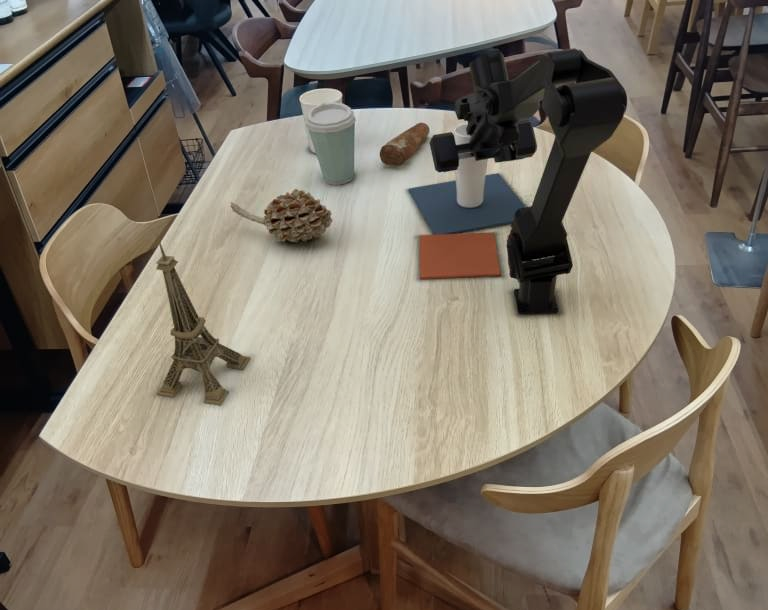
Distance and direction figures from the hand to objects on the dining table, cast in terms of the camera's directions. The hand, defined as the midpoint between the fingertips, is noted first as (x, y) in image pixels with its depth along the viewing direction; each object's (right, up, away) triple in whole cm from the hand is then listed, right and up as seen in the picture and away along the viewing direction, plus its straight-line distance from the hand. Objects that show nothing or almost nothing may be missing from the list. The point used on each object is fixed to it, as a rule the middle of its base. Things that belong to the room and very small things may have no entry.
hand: (472, 163), depth 128 cm
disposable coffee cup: (-27, +3, +20) cm, 34 cm away
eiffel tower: (-44, -41, -26) cm, 66 cm away
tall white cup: (0, -6, +7) cm, 9 cm away
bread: (-12, +12, +28) cm, 32 cm away
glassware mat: (0, -6, +8) cm, 9 cm away
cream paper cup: (-31, +15, +33) cm, 47 cm away
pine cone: (-37, -14, +3) cm, 39 cm away
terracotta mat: (-3, -19, -6) cm, 20 cm away
